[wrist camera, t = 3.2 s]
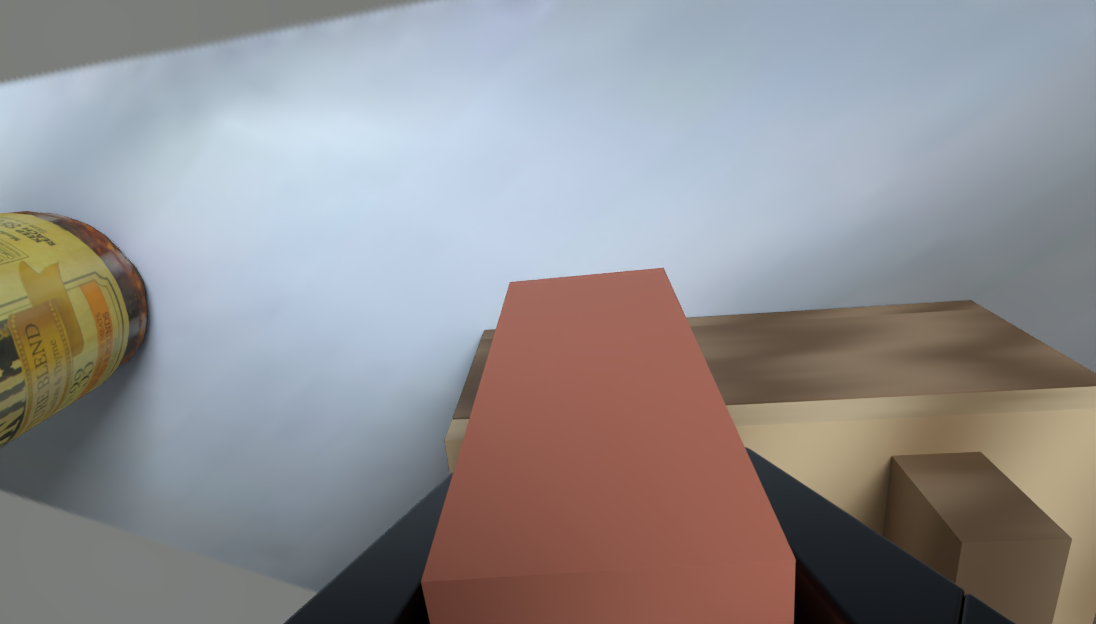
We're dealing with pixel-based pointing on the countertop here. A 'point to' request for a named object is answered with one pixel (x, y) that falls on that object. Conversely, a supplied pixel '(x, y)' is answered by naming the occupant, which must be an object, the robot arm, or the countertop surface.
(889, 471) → the lid
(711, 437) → the block
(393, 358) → the countertop surface
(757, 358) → the wooden box
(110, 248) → the sauce bottle
